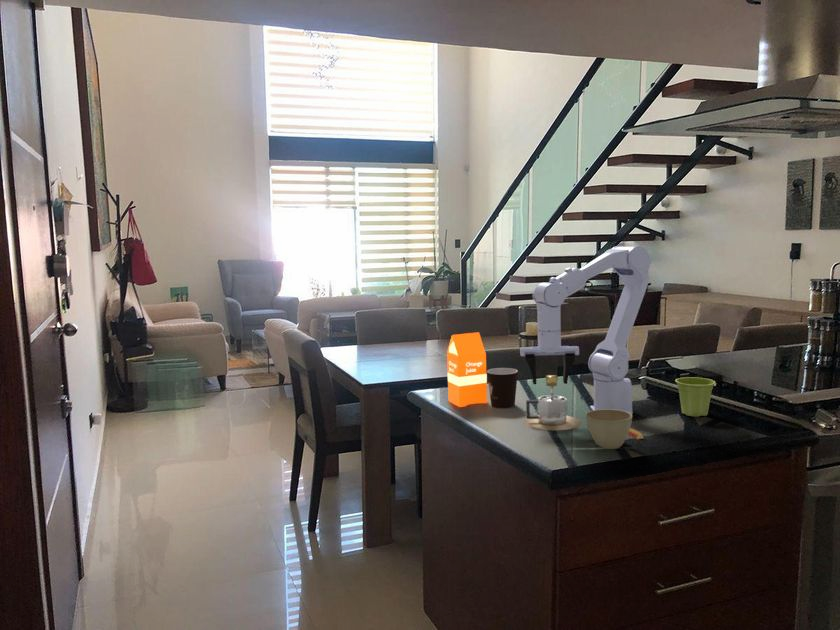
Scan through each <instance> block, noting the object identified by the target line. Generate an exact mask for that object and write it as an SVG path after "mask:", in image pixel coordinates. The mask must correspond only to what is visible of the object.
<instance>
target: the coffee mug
mask: <svg viewBox="0 0 840 630" xmlns="http://www.w3.org/2000/svg"><path fill="white" fill-rule="evenodd" d="M486 374H487V385H488V392H489V398H490V405H491V407H492V408H496V409H510V408H513V407H515V405H516V394H517V383H518V374H519V371H518V369H517V368H510V367H496V368H490V369H486Z"/></svg>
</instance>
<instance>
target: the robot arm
mask: <svg viewBox="0 0 840 630" xmlns="http://www.w3.org/2000/svg"><path fill="white" fill-rule="evenodd" d="M652 261H653V260H652V256H651V254H650V253H649V251H648V249H647V248H646V247H644V246H643V245H635V246H634V245H633V246H631V245H627V246H626V245H616V246H613V247H612V248H610V249H607V250H606V251H605V252H604V253H601V255H599V256H597V257H595V258H594V259H593V260H591V261H590V262H588V263H586V264H584V265H583V266H582V267H581V268H577V267H566V268H564V272H562V273H561V274H559V275H557V276H556V277H554V276H551V277H550V278H549V281H548V282H544V281H543V282H541V283H539V284H537V285H536V287H535V289H534V291H533V293H532V299H533V301H534V302H535V304H536V310H537V312H536V313H537V346H526V347H523V346H522V347H520V348H519V354H520V357H524V359H525V361H526V362H527V366H528V368H529V371H530V374H531V378H532V384H533V385H537V373H536V367H537V365H536V363H537V360H536V356H562V363H563V364H562V365H563V367H562V369H563V373H562V382H563V385H565V384H566V385H567V384H568V381H569V380H568V379H569V376H570V375H569V374H570V371H571V368H572V367H573V365H574V363H575V361H576V356H579V355H580V347H579V346H577V345H571V346H570V345H562V331H561V330H562V329H561V328H562V327H561V326H562V325H561V321H562V320H561V318H562V317H561V316H562V315H561V305H562V304H563V303H564V302H565V299H566V298H567V297H569V296H571V295H574V294H575V293H576V292H579V291H580V290H582V289H583V288H585V286H586V283H587V280H589V279H592V278H594V277H596V276H597V275H598V276H599V275H600V274H602V273H604V272H605V271H607V270H610V269H613V270H614V271H615V272H616V273H617V274H618V276H619V277H620V278H621V280H622V281H623V283H624V286H623V289H622V291H621V294H620V297H619V300H618V303H617V305H616V308H615V309H614V313H613V316H612V319H611V323H610V324H609V328H608V330H607V333H606V336H605V339H604V340H602V341H601V342H599V343H598V344H597V345H596V347H595V349H594V351H593V352H592V353H591V354H590V356H589V358H588V361H587V365H588V369H589V370H590V372H591V373H592V377H593V405H590V406H589V407H590V409H591V411H593V410H600V409H615V410H622V411H626V412H629V413H631V414H632V415H633V387H632V386H633V385H632V381H631V379H630V378H628V377H625V376H626V375H627V373H628V371H629V359H630V357H631V355H630V352H629V350H628V348H627V343H628V341H629V338H630V335H631V332H632V329H633V327H634V324H635V321H636V320H637V316H638V313H639V310H640V308H641V304H642V303H643V299H644V296H645V294H646V290H647V288H648V285H649V270H650V267H651V264H652Z"/></svg>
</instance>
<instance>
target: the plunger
mask: <svg viewBox="0 0 840 630" xmlns="http://www.w3.org/2000/svg"><path fill="white" fill-rule="evenodd" d="M545 386H548V387H550V388H549V389H550V390H549V391H550V392H549V393H550V395H551V397H547V398H543V399H542V401H547V402H559V401H562V400H563V399H561V398H557V397H553V395H554V387H556V386H558V375H555V374H547V375H545Z"/></svg>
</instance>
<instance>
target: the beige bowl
mask: <svg viewBox="0 0 840 630" xmlns="http://www.w3.org/2000/svg"><path fill="white" fill-rule="evenodd" d="M585 421H586V425H587V427H588V430H589V433H590V434H591V438H592V439H593V440H594V443H595V444H596V446H598V447H600V449H604V450H616V449H620V448H621V447H622V446H623V445H624V443H625V441H626V439H627V437H628V436H629V435H628V433H629V430H630V428H632V422H633V414H631V413H629V412H626V411H622V410H615V409H600V410H589V411H587V412H586V413H585Z"/></svg>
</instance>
